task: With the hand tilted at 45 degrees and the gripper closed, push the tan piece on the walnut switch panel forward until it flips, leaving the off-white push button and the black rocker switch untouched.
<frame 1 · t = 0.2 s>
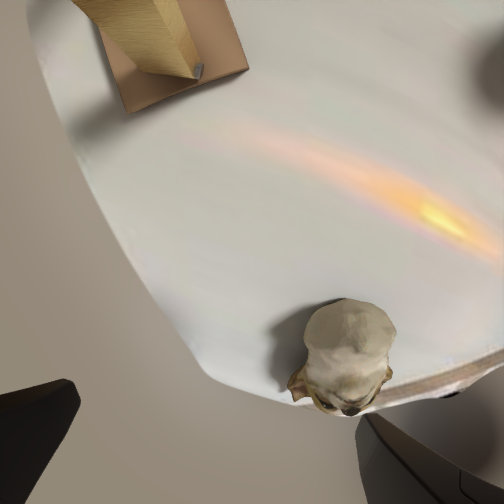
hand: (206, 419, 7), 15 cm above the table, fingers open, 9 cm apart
ceramic sculpture: (340, 339, 27), on the table
tan piece: (142, 22, 9), point 7 cm above the table, hinge at -20.0°
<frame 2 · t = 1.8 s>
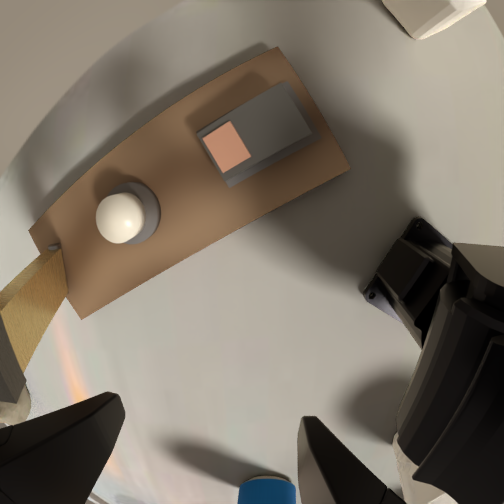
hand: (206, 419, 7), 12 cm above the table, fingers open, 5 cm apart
push button: (120, 217, 15), point 3 cm above the table, slide at 0.0 cm
rocker switch: (253, 132, 14), point 3 cm above the table, hinge at -10.0°
beverage can: (267, 483, 27), on the table
white cup: (420, 428, 23), on the table
switch panel: (161, 195, 18), on the table
ceramic sculpture: (7, 380, 27), on the table
tan piece: (30, 304, 13), point 7 cm above the table, hinge at -20.0°
salt shaker: (412, 15, 13), on the table
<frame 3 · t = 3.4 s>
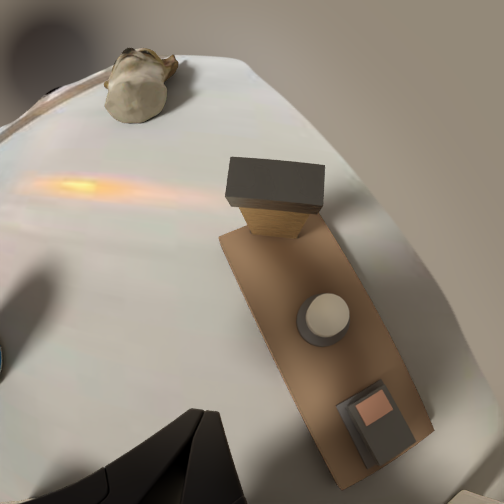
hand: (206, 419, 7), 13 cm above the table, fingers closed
push button: (327, 315, 18), point 3 cm above the table, slide at 0.0 cm
rocker switch: (381, 425, 15), point 3 cm above the table, hinge at -10.0°
switch panel: (327, 343, 21), on the table
ceramic sculpture: (144, 100, 34), on the table
tan piece: (275, 213, 17), point 7 cm above the table, hinge at -20.0°
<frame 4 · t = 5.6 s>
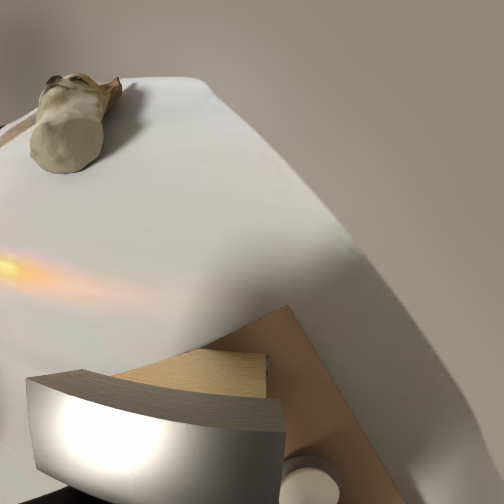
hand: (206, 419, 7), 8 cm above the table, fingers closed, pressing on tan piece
push button: (307, 494, 10), point 3 cm above the table, slide at 0.0 cm
switch panel: (311, 496, 12), on the table
ceramic sculpture: (84, 139, 26), on the table
tan piece: (212, 384, 8), point 7 cm above the table, hinge at -13.8°, touching gripper
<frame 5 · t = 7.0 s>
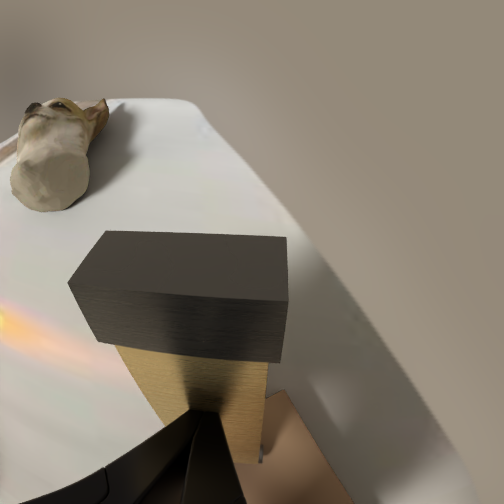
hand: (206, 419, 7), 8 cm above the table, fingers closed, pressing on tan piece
ceramic sculpture: (70, 170, 24), on the table
tan piece: (211, 409, 8), point 7 cm above the table, hinge at 25.2°, touching gripper
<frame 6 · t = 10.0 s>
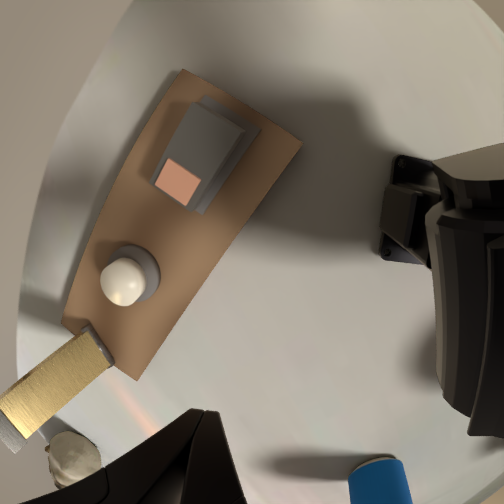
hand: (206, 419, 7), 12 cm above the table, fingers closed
push button: (123, 281, 16), point 3 cm above the table, slide at 0.0 cm
rocker switch: (194, 157, 14), point 3 cm above the table, hinge at -10.0°
beverage can: (374, 466, 25), on the table
switch panel: (154, 246, 19), on the table
ceramic sculpture: (83, 448, 30), on the table
tan piece: (48, 387, 16), point 7 cm above the table, hinge at 25.3°
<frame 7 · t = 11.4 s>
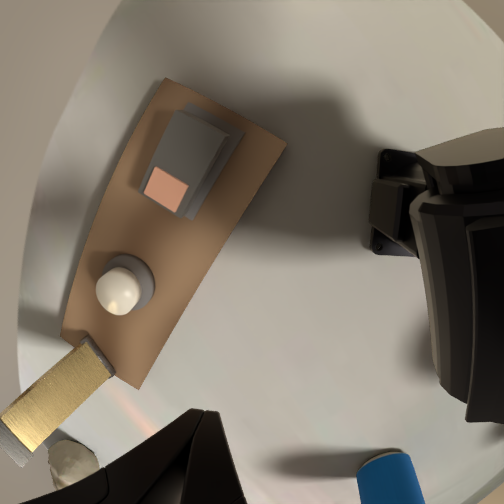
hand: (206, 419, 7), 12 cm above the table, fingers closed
push button: (118, 291, 16), point 3 cm above the table, slide at 0.0 cm
rocker switch: (180, 163, 14), point 3 cm above the table, hinge at -10.0°
beverage can: (381, 462, 25), on the table
switch panel: (147, 254, 19), on the table
ceramic sculpture: (84, 458, 30), on the table
tan piece: (50, 399, 15), point 7 cm above the table, hinge at 25.3°
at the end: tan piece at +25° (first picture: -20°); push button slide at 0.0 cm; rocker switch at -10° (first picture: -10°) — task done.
